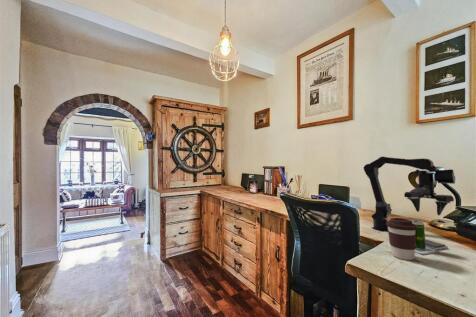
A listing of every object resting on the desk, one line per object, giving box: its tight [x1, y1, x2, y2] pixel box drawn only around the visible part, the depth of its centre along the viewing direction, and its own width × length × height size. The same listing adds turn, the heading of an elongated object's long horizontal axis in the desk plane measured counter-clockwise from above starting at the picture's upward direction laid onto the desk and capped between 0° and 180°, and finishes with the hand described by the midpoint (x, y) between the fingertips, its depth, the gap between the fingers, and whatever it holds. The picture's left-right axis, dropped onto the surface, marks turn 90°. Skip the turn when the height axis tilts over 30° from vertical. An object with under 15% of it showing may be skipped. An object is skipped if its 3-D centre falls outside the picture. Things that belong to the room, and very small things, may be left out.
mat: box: [415, 247, 440, 256], centre depth 90 cm, size 10×10×1 cm
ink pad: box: [425, 238, 449, 251], centre depth 94 cm, size 10×8×2 cm
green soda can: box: [410, 219, 426, 250], centre depth 91 cm, size 5×5×12 cm
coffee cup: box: [386, 217, 417, 261], centre depth 83 cm, size 10×10×15 cm
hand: (427, 213), depth 103 cm, fingers open, 9 cm apart
